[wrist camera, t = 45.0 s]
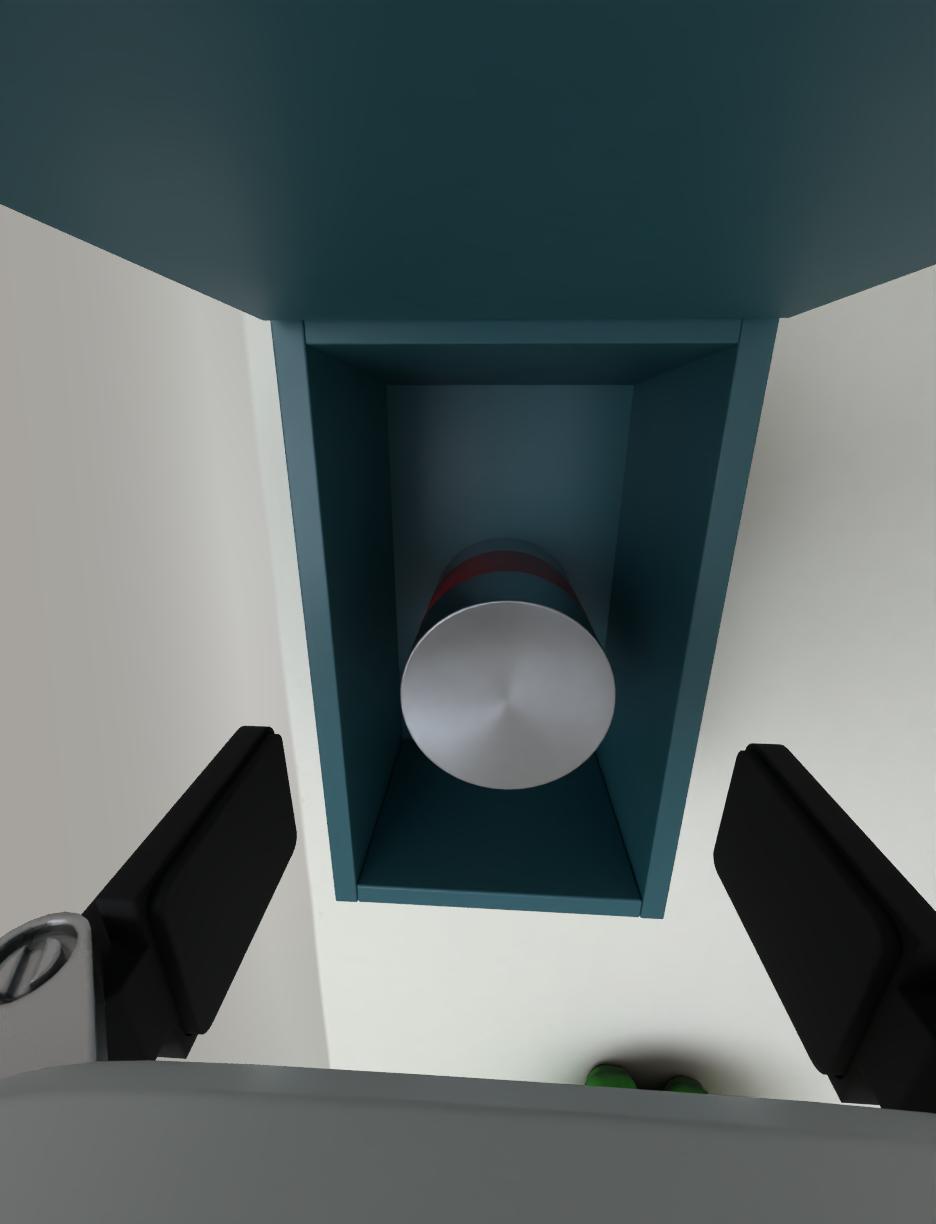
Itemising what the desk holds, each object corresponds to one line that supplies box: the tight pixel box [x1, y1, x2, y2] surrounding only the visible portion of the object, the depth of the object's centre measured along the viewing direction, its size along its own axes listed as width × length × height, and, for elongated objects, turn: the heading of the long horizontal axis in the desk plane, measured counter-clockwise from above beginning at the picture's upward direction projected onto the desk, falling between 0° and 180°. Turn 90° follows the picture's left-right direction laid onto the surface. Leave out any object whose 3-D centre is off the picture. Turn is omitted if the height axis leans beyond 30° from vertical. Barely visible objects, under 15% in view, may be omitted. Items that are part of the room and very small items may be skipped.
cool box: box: [270, 318, 779, 919], centre depth 19 cm, size 19×12×10 cm, turn 0°
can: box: [400, 538, 616, 790], centre depth 19 cm, size 6×6×9 cm
